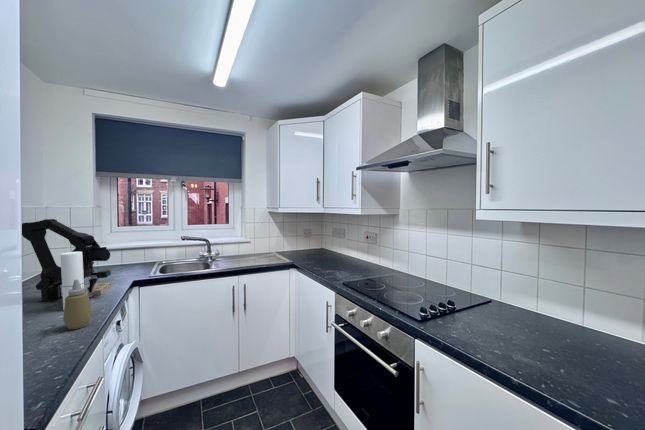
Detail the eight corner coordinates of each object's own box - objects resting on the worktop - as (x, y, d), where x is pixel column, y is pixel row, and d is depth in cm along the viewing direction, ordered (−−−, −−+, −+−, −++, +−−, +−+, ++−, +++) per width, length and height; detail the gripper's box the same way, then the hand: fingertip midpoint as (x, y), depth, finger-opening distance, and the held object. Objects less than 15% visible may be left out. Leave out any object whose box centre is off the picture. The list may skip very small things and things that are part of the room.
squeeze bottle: (97, 321, 106) (95, 277, 105) (80, 331, 98) (77, 283, 97) (77, 321, 106) (74, 277, 105) (57, 331, 97) (54, 283, 97)
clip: (86, 301, 127) (85, 288, 127) (78, 301, 126) (78, 289, 126) (94, 295, 134) (93, 283, 134) (87, 296, 133) (86, 284, 133)
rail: (100, 294, 137) (100, 289, 136) (83, 296, 134) (83, 291, 134) (112, 286, 150) (111, 282, 150) (96, 287, 147) (96, 283, 147)
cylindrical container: (83, 303, 125) (80, 250, 123) (86, 307, 120) (83, 252, 119) (62, 308, 119) (59, 253, 118) (64, 312, 115) (61, 255, 113)
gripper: (49, 266, 119) (51, 300, 119) (100, 263, 125) (102, 295, 125) (64, 261, 129) (66, 292, 130) (110, 258, 135) (112, 288, 136)
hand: (86, 292), depth 130 cm, fingers closed on clip, 3 cm apart
